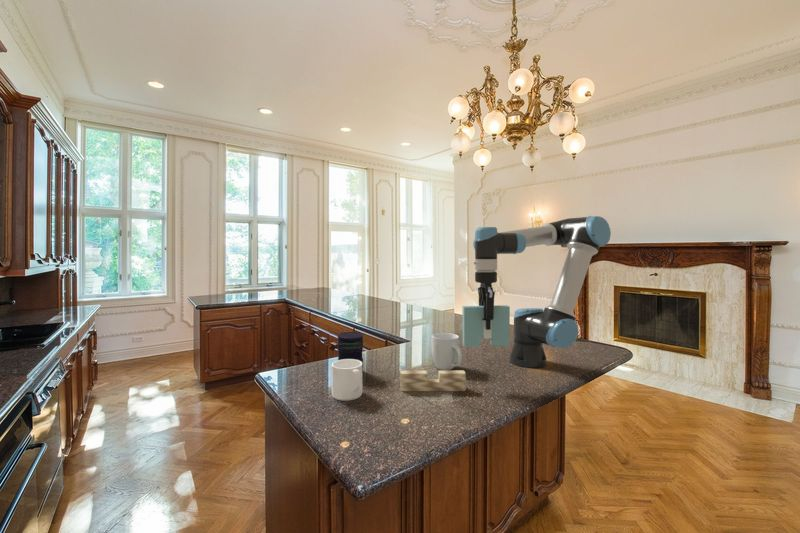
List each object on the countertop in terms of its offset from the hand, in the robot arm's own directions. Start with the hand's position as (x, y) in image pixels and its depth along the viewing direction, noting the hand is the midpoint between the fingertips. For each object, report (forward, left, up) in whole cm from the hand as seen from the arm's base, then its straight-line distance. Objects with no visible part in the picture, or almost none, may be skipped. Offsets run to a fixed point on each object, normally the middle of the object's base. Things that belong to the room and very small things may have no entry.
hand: (485, 336), depth 126 cm
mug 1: (+47, +10, -17) cm, 52 cm away
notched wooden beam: (+19, +5, -17) cm, 26 cm away
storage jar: (+49, -11, -17) cm, 53 cm away
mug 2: (+11, -16, -17) cm, 26 cm away
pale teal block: (0, 0, -3) cm, 3 cm away
